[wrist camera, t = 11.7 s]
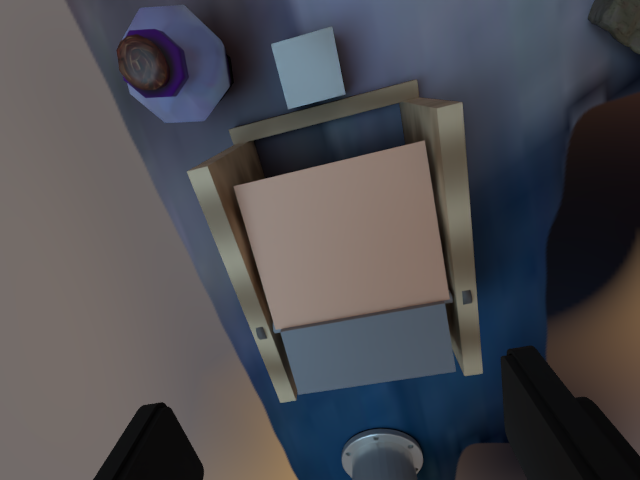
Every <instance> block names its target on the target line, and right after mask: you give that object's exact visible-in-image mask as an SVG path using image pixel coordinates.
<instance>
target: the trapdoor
mask: <svg viewBox="0 0 640 480" xmlns="http://www.w3.org/2000/svg"><path fill="white" fill-rule="evenodd" d="M233 187H234V190H235V194H236V197H237V200H238V204H239V207H240V210H241V214H242V217H243V221H244V224H245V227H246V231H247V234H248V238H249V241H250V244H251V248H252V251H253V255H254V258H255V261H256V265H257V268H258V272H259V275H260V278H261V282H262V285H263V289H264V292H265V295H266V299H267V302H268V306H269V309H270V312H271V316H272V319H273V331H274V333H281V336H282V340H283V343H284V347H285V350H286V353H287V357H288V360H289V364H290V367H291V371H292V374H293V377H294V381H295V384H296V388H297V391H298V395H300V394H306V393H313V392H320V391H327V390H334V389H341V388H347V387H354V386H361V385H368V384H375V383H381V382H388V381H395V380H402V379H409V378H416V377H422V376H429V375H436V374H443V373H450V372H456V369H455V363H454V357H453V350H452V344H451V338H450V332H449V326H448V319H447V313H446V307H445V304H447V303H452V302H453V299H452V295H451V292H450V290H448V285H447V279H446V272H445V266H444V259H443V253H442V247H441V240H440V234H439V228H438V221H437V215H436V209H435V202H434V196H433V190H432V183H431V177H430V170H429V164H428V158H427V151H426V145H425V141H419V142H415V143H411V144H407V145H403V146H398V147H394V148H390V149H386V150H382V151H378V152H373V153H369V154H365V155H361V156H357V157H353V158H349V159H344V160H340V161H336V162H332V163H328V164H324V165H319V166H315V167H311V168H307V169H303V170H299V171H294V172H290V173H286V174H282V175H278V176H274V177H270V178H265V179H261V180H257V181H253V182H249V183H245V184H240V185H237V186H233Z"/></svg>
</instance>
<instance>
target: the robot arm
mask: <svg viewBox="0 0 640 480" xmlns="http://www.w3.org/2000/svg"><path fill="white" fill-rule="evenodd" d="M501 372H502V388H503V405H504V422H505V431H506V435H507V438H508V441H509V443H510V445H511V447H512V449H513V451H514V453H515V455H516V457H517V459H518V461H519V463H520V465H521V467H522V469H523V471H524V473H525V475H526V477H527V479H528V480H640V456H639V455H638V454H637V452H636V451H635V450H634V449H633V448H632V447H631V445H630V444H629V443H628V442H627V441H626V439H625V438H624V437H623V436H622V435H621V433H620V432H619V431H618V430H617V429H616V428H615V426H614V425H613V424H612V423H611V422H610V420H609V419H608V418H607V417H606V416H605V415H604V413H603V412H602V411H601V410H600V409H599V407H598V406H597V405H596V404H595V403H594V402H593V401H592V400H590V399H588V398H587V397H578V398H575V397H574V396H573V395H572V394H571V392H570V391H569V390H568V389H567V387H566V386H565V385H564V384H563V382H562V381H561V380H560V379H559V377H558V376H557V375H556V373H555V372H554V371H553V370H552V369H551V368H550V366H549V365H548V363H547V362H546V361H545V360H544V358H543V357H542V356H541V355H540V353H539V352H538V351H537V350H536V349H535V348H534V347H533V346H526V347H520V348H513V349H508V350H507V356H502V357H501ZM422 464H423V455H422V451H421V448H420V446H419V444H418V443H417V442H416V441H415V440H414V439H413V438H412V437H410V436H409V435H407V434H405V433H403V432H400V431H396V430H391V429H372V430H368V431H364V432H362V433H359V434H357V435H355V436H354V437H352V438H351V439H350V440H349V441H348V442H347V443H346V444H345V446H344V448H343V450H342V465H343V468H344V469H345V471H346V473H347V474H349V475H350V476H351V477H352V480H417V476H416V474H417V473H418V472H419V471H420V469H421V467H422ZM203 476H204V469H203V466H202V463H201V461H200V460H199V458H198V456H197V454H196V452H195V451H194V449H193V447H192V445H191V443H190V442H189V440H188V438H187V436H186V434H185V432H184V431H183V429H182V427H181V425H180V423H179V422H178V420H177V418H176V416H175V415H174V413H173V411H172V409H171V408H169V407H167V406H166V404H165V403H163V402H162V403H155V404H148V405H143V406H142V407H140V408H139V409H138V411H137V412H136V414H135V415H134V417H133V418H132V420H131V422H130V423H129V425H128V426H127V428H126V429H125V431H124V433H123V434H122V436H121V437H120V439H119V440H118V442H117V443H116V445H115V447H114V448H113V450H112V451H111V453H110V455H109V456H108V457H107V459H106V461H105V462H104V464H103V465H102V467H101V468H100V470H99V471H98V473H97V475H96V476H95V478H94V479H93V480H203Z"/></svg>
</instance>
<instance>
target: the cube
mask: <svg viewBox="0 0 640 480" xmlns="http://www.w3.org/2000/svg"><path fill="white" fill-rule="evenodd" d="M271 46H272V50H273V54H274V58H275V61H276V65H277V69H278V73H279V77H280V80H281V84H282V88H283V92H284V96H285V99H286V103H287V107H288V109H292V108H295V107H299V106H303V105H307V104H311V103H314V102H318V101H322V100H326V99H330V98H333V97H337V96H341V95H345V89H344V84H343V79H342V74H341V69H340V64H339V59H338V54H337V49H336V44H335V38H334V33H333V28H332V27H328V28H325V29H321V30H318V31H315V32H311V33H308V34H304V35H301V36H297V37H294V38H291V39H287V40H284V41H280V42H277V43H273V44H271Z"/></svg>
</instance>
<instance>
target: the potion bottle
mask: <svg viewBox="0 0 640 480" xmlns="http://www.w3.org/2000/svg"><path fill="white" fill-rule="evenodd" d="M117 56H118V62H119V71H120V72H121V73H122V75H123V78H124V81H126V82H127V83H128V87H129V91H130V94H131V95H132V96H134V97H135V98H136V99H137V100H138V101H140V102H141V103H142V104H143V105H144V106H146V107H147V108H148V109H149V110H150V111H151V112H153V113H154V114H155V115H156V116H157V117H159V118H160V119H161V120H162V121H163V122H165V123H176V122H197V121H205V120H206V119H207V117H208V116H209V115H210V113H211V112H212V111H213V110H214V108H215V107H216V105H217V104H218V103H219V101H221V100H222V98H223V97H224V95H225V94H226V93H227V91H228V90H229V88H230V87H231V86H232V84H233V83H234V82H233V74H232V67H231V60H230V57H229V56H228V55H227V54H226V49H225V47H224V45H223V43H222V41H221V40H220V39H219V38H218V37H217V36H216V35H215V34H214V33H213V32H212V31H211V30H210V29H209V28H208V27H207V26H206V25H205V24H203V23H202V22H201V21H200V20H199V19H198V18H197V17H196V16H195V15H194V14H193V13H192V12H191V11H190V10H189V9H188V8H187V7H186V6H185V5H175V6H160V7H146V8H139V10H138V12H137V14H136V16H135V17H134V19H133V21H132V23H131V24H130V26H129V28H128V30H127V32H126V33H125V35H124V37H123V39H122V41H121V42H120V44H119V46H118V48H117Z"/></svg>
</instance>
